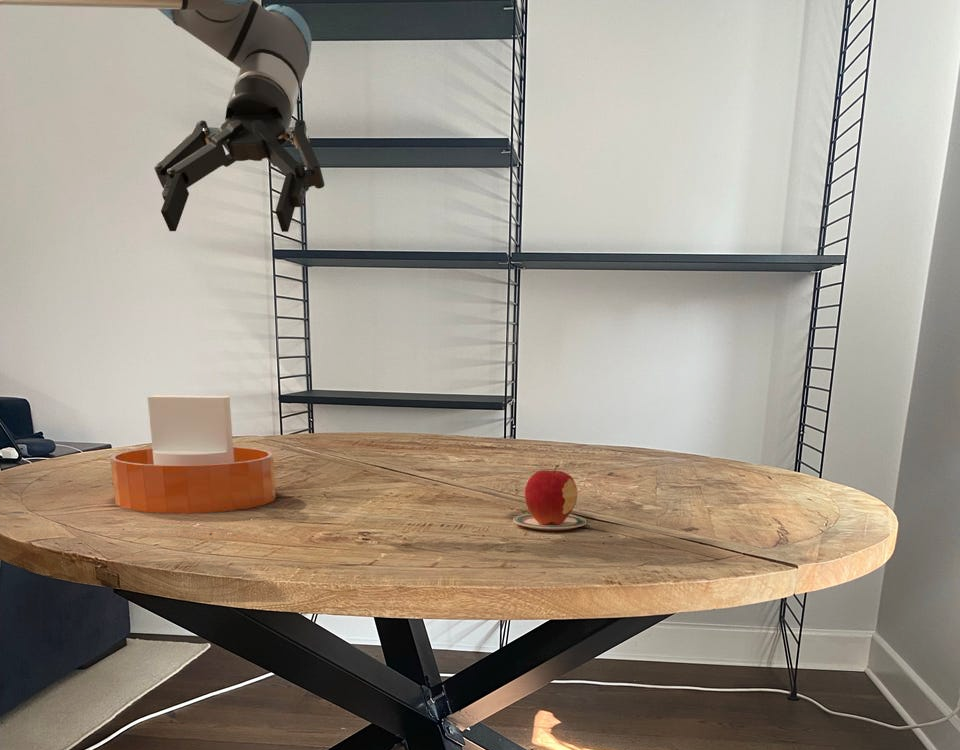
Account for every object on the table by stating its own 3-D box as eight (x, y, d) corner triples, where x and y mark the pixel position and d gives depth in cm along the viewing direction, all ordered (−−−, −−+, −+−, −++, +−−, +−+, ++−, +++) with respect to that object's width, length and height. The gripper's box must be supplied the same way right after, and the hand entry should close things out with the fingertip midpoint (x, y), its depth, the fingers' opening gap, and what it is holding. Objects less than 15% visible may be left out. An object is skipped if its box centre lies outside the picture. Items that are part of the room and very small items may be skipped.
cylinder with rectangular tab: (243, 494, 112) (236, 394, 108) (228, 508, 104) (220, 399, 100) (168, 494, 112) (159, 393, 108) (148, 507, 103) (137, 398, 99)
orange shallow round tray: (84, 516, 101) (77, 461, 99) (167, 490, 118) (162, 443, 116) (234, 524, 98) (230, 468, 96) (298, 497, 115) (296, 449, 113)
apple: (582, 519, 104) (585, 461, 102) (589, 533, 97) (592, 471, 94) (512, 517, 104) (514, 460, 102) (514, 532, 97) (516, 470, 94)
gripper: (365, 132, 116) (337, 249, 106) (178, 133, 119) (135, 248, 109) (353, 73, 109) (322, 192, 100) (155, 76, 112) (107, 192, 103)
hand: (224, 221), depth 104 cm, fingers open, 13 cm apart
